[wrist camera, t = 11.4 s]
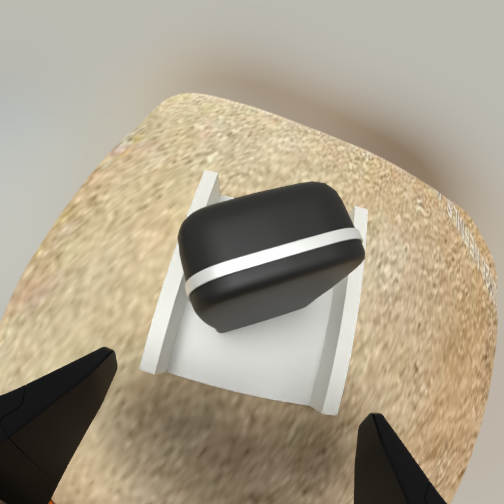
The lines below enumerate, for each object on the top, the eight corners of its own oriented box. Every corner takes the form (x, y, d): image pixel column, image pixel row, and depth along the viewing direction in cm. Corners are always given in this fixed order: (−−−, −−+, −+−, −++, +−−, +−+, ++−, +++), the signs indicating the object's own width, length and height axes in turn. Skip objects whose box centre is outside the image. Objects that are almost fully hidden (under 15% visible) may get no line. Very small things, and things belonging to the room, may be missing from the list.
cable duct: (319, 405, 18) (337, 415, 14) (157, 367, 19) (139, 369, 15) (349, 232, 23) (367, 209, 19) (209, 198, 23) (204, 170, 20)
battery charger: (293, 257, 21) (342, 157, 10) (310, 306, 20) (388, 246, 9) (200, 284, 20) (157, 200, 9) (214, 335, 19) (180, 310, 8)
